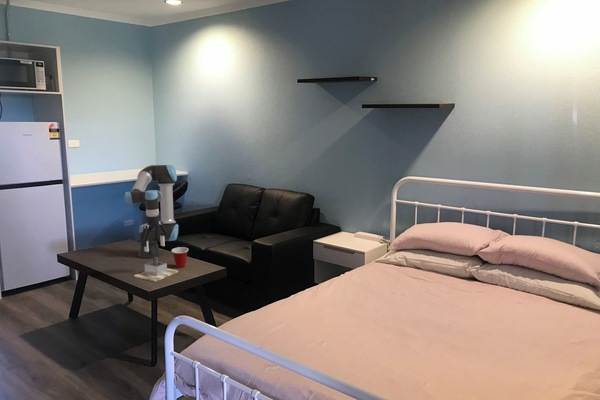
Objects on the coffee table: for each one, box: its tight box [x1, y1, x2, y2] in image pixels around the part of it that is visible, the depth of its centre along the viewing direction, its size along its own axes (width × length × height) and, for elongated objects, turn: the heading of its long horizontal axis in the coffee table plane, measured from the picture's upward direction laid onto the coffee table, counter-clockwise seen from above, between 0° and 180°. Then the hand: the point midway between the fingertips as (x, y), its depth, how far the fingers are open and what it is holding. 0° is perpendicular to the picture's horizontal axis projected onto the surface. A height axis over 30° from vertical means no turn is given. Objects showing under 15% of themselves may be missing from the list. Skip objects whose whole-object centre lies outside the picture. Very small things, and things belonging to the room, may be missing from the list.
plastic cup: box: [171, 246, 189, 269], centre depth 313 cm, size 11×11×12 cm
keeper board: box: [133, 256, 179, 282], centre depth 298 cm, size 20×18×12 cm
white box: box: [144, 260, 168, 276], centre depth 298 cm, size 8×11×6 cm
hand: (154, 248), depth 296 cm, fingers open, 13 cm apart
